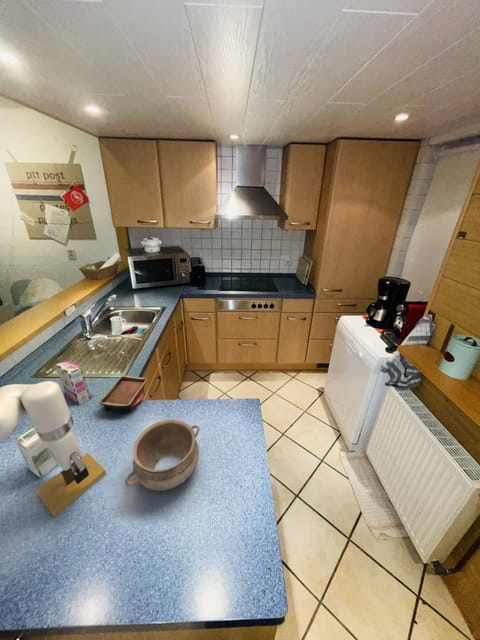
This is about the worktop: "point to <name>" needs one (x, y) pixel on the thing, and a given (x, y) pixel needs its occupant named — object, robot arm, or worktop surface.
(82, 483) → the plate
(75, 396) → the candy bar box
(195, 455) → the cooking pot
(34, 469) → the syrup box
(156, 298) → the worktop surface
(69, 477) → the lock knob
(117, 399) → the baking dish
